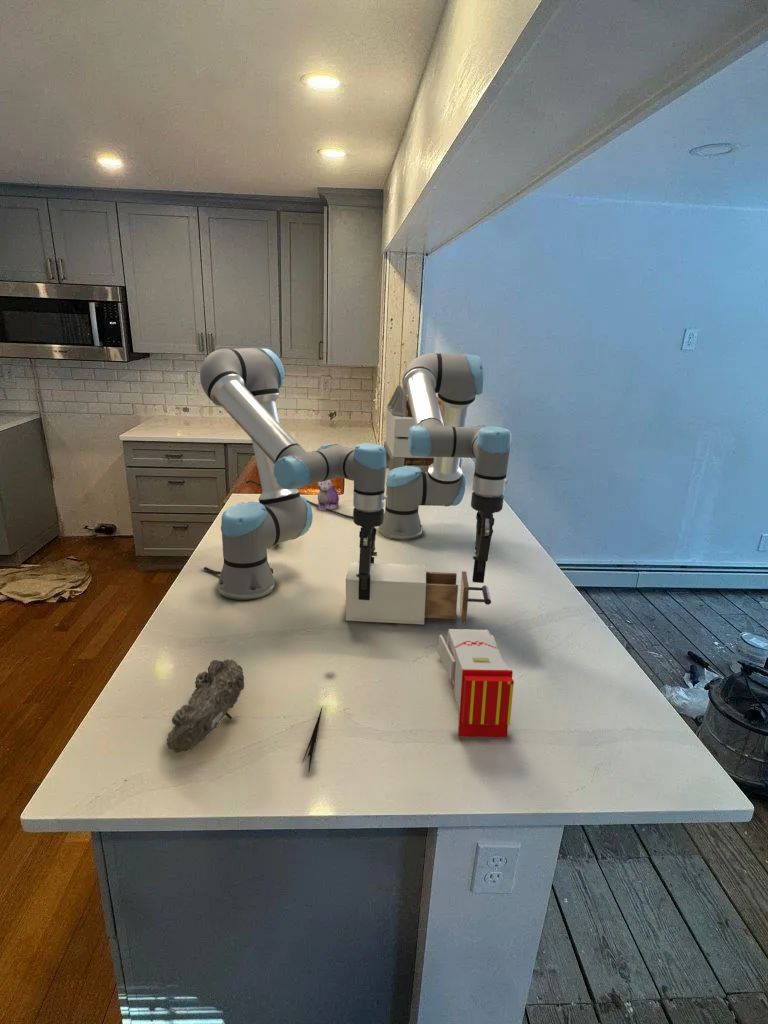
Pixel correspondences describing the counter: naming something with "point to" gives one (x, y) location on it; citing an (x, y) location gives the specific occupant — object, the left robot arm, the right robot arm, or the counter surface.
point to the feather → (313, 740)
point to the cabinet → (388, 594)
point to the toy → (478, 682)
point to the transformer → (402, 433)
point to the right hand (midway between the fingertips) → (477, 581)
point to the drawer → (449, 595)
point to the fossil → (206, 705)
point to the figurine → (327, 496)
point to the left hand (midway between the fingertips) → (366, 589)
